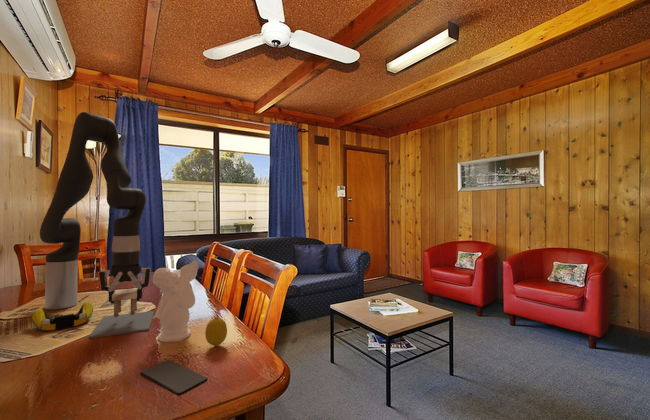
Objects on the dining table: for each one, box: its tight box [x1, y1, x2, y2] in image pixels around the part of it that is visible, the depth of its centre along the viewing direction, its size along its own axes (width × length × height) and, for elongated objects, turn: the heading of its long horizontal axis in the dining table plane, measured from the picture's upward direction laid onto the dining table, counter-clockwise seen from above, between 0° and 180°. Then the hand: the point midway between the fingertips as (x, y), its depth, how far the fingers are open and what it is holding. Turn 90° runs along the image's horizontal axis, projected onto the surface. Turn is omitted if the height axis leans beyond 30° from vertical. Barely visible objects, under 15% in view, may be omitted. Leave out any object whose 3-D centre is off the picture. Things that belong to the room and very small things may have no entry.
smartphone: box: [140, 359, 208, 396], centre depth 67 cm, size 7×1×15 cm
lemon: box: [204, 316, 228, 347], centre depth 83 cm, size 6×6×8 cm
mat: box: [88, 310, 155, 339], centre depth 98 cm, size 18×15×1 cm
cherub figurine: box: [152, 259, 199, 343], centre depth 91 cm, size 12×12×22 cm
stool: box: [112, 287, 138, 317], centre depth 98 cm, size 6×6×7 cm
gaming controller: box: [31, 301, 94, 332], centre depth 97 cm, size 15×6×10 cm
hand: (125, 301), depth 98 cm, fingers closed on stool, 6 cm apart
